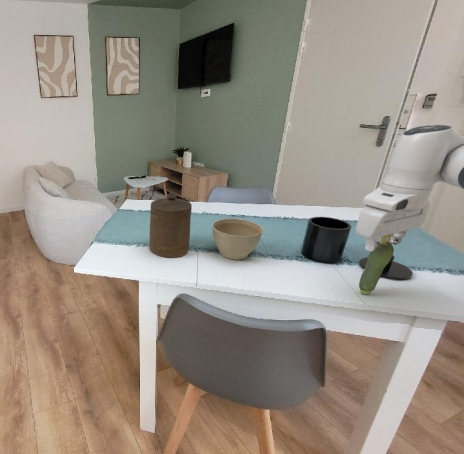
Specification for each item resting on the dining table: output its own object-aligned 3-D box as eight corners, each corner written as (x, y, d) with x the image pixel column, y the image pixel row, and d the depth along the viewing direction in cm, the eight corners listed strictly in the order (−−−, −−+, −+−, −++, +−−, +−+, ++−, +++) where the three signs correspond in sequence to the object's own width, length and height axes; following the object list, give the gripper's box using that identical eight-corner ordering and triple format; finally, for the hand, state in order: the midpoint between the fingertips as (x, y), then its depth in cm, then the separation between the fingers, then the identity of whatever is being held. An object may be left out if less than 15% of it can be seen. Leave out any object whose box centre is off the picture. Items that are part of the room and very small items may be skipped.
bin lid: (421, 275, 88) (428, 260, 86) (394, 284, 85) (400, 269, 83) (375, 257, 99) (379, 243, 97) (349, 264, 96) (353, 250, 94)
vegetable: (354, 287, 84) (377, 223, 76) (374, 291, 82) (399, 226, 74) (357, 295, 81) (381, 230, 73) (377, 299, 79) (404, 233, 71)
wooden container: (183, 239, 118) (187, 187, 110) (193, 257, 105) (197, 199, 96) (147, 240, 119) (147, 189, 110) (152, 258, 105) (153, 201, 97)
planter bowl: (248, 244, 112) (252, 217, 108) (265, 265, 97) (271, 236, 93) (205, 244, 114) (208, 218, 110) (215, 265, 99) (219, 236, 95)
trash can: (349, 259, 98) (360, 226, 93) (324, 266, 95) (334, 232, 90) (316, 246, 108) (325, 214, 103) (293, 251, 105) (300, 219, 100)
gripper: (413, 187, 76) (394, 235, 82) (358, 198, 70) (342, 248, 76) (445, 194, 71) (423, 244, 76) (389, 205, 65) (369, 259, 70)
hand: (382, 246), depth 76 cm, fingers open, 8 cm apart
